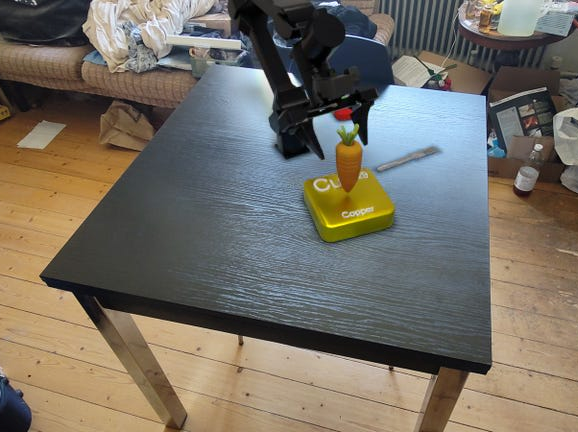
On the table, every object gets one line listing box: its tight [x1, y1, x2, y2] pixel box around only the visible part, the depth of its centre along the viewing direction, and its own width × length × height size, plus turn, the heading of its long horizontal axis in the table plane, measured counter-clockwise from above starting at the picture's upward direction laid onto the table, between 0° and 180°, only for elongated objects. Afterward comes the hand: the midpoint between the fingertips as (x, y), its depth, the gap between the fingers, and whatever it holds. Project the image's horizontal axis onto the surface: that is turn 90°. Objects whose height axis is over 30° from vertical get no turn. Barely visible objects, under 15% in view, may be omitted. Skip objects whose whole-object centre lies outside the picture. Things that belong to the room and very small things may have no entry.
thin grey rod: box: [376, 146, 439, 173], centre depth 102 cm, size 17×2×1 cm, turn 120°
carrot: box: [335, 124, 364, 193], centre depth 81 cm, size 5×5×15 cm
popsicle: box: [332, 95, 353, 122], centre depth 119 cm, size 6×15×2 cm, turn 19°
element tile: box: [302, 167, 396, 243], centre depth 88 cm, size 15×15×5 cm
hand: (345, 152), depth 81 cm, fingers open, 9 cm apart
